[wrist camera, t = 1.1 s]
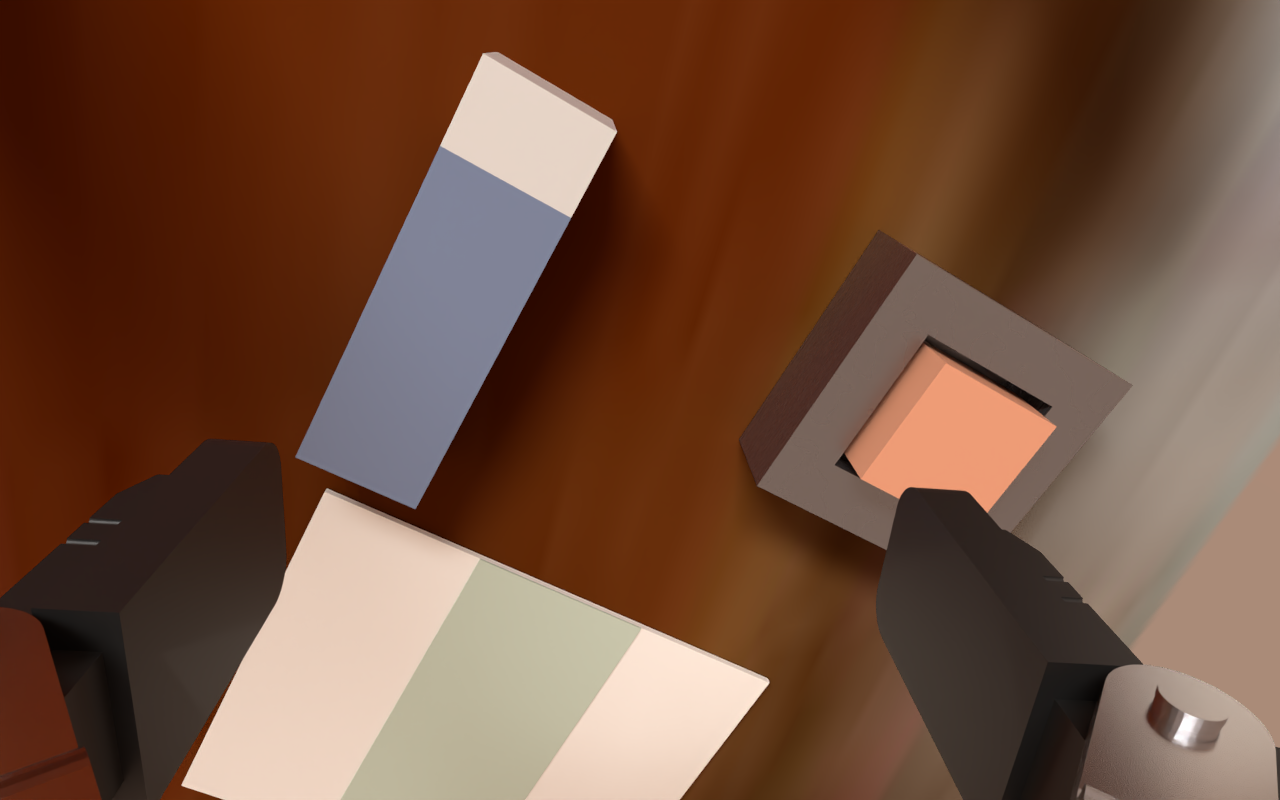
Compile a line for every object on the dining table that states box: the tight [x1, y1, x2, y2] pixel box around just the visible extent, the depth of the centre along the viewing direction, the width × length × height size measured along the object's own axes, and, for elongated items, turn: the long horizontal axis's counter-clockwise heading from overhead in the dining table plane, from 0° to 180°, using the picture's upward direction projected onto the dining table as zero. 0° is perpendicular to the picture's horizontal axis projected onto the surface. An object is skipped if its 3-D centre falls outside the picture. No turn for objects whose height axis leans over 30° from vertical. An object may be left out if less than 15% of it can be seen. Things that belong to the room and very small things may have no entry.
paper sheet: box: [181, 489, 769, 800], centre depth 40 cm, size 22×18×1 cm
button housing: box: [739, 230, 1133, 550], centre depth 33 cm, size 10×10×4 cm
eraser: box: [296, 52, 617, 509], centre depth 30 cm, size 4×15×4 cm, turn 150°
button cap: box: [844, 341, 1057, 513], centre depth 31 cm, size 5×5×3 cm
